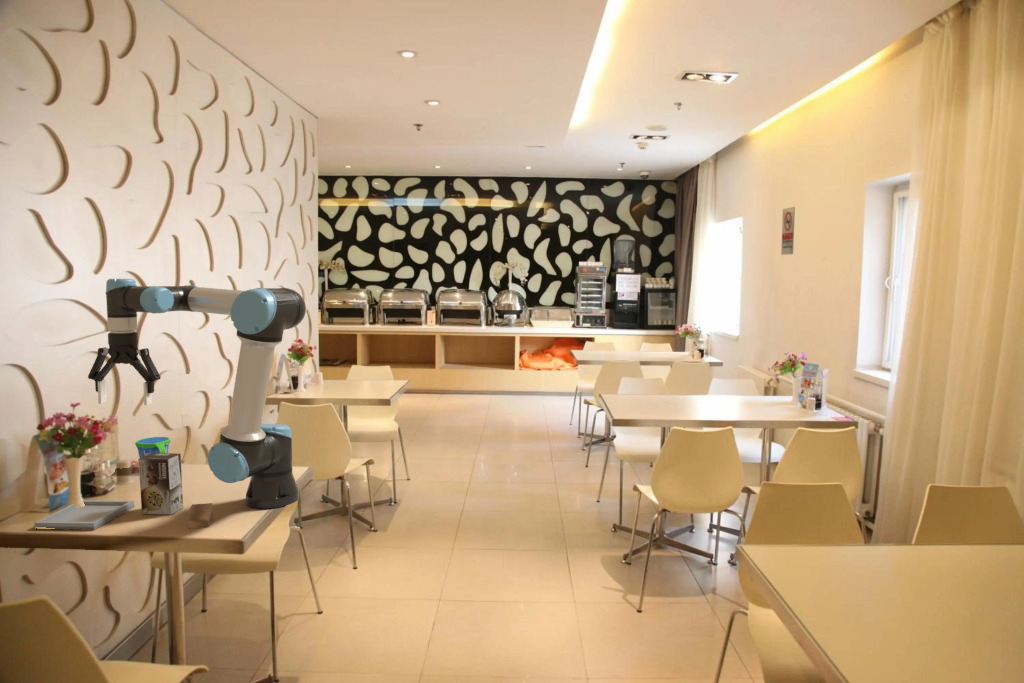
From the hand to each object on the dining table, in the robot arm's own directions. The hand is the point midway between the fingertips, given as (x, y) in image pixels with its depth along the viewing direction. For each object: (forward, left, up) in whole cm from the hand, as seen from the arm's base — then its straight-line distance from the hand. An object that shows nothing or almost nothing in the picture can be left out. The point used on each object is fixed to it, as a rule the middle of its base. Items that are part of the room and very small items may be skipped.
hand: (125, 403), depth 197 cm
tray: (+4, +14, -29) cm, 33 cm away
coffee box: (-14, +8, -30) cm, 34 cm away
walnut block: (-30, +18, -30) cm, 46 cm away
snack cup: (+12, -34, -30) cm, 46 cm away
